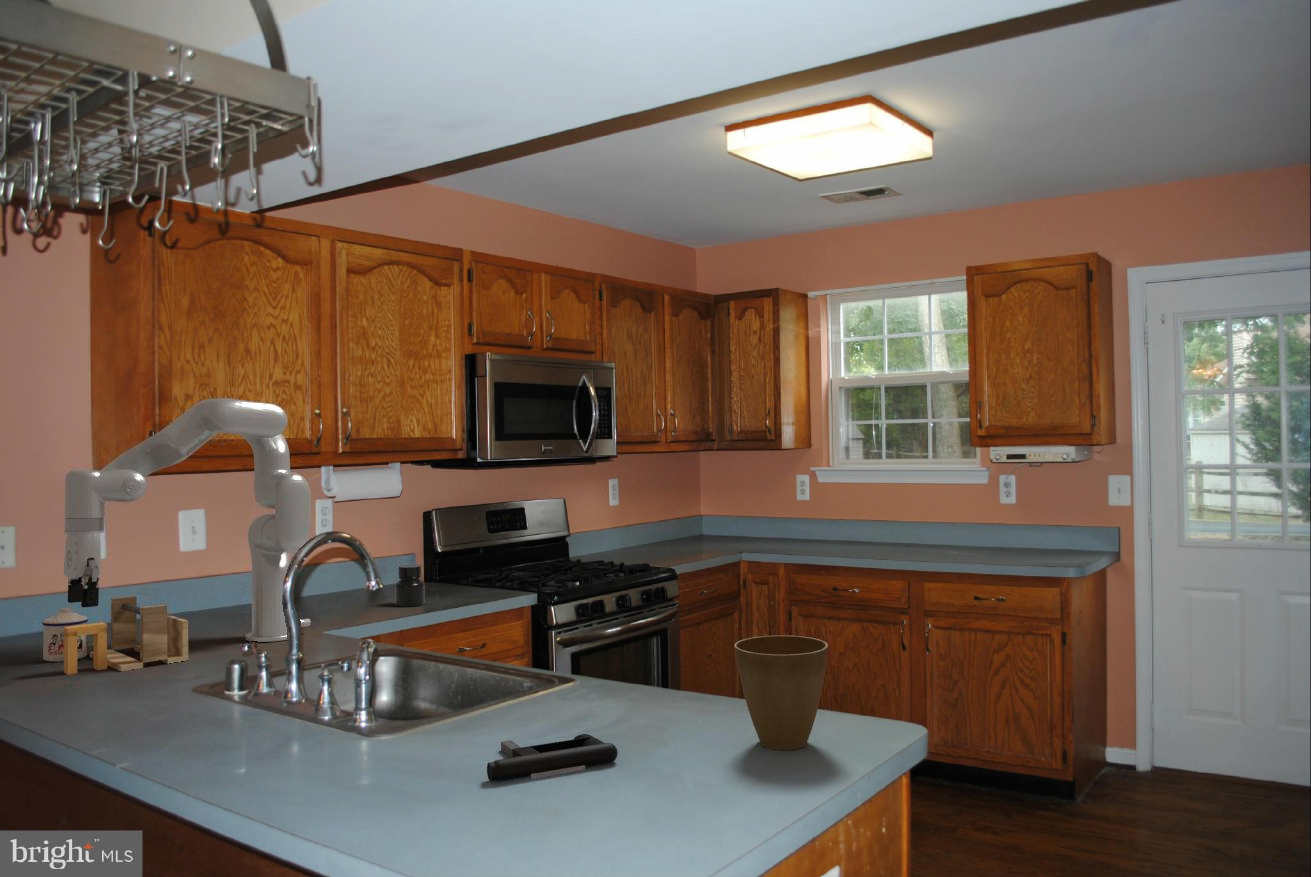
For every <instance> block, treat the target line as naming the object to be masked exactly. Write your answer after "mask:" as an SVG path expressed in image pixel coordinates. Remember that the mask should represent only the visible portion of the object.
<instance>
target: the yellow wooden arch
mask: <svg viewBox="0 0 1311 877" xmlns="http://www.w3.org/2000/svg"><path fill="white" fill-rule="evenodd" d="M107 633H108V624H107V623H106V622H103V621H101V622H96V623H95V622H94V623H87V624H85V625H77V626H69V627H64V661H63V673H64V674H66V675H67V676H69V675H75V674H78V659H77V636H80V635H87V636H88V635H93V641H94V645H93V651H94V659H93V669H95V670H97V671H101V670H107V669H108V665H107V649H108V634H107Z"/></svg>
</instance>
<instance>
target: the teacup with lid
mask: <svg viewBox="0 0 1311 877" xmlns="http://www.w3.org/2000/svg"><path fill="white" fill-rule="evenodd" d="M88 621H89V619H88V617H87V616H86V615H81V614H78V613H77V612H75V611H71V608H70V607H61V608H60V611H59V612H57V613H55V614H54V615H51V617H48V618H45V619H44V620H43V621H42V623H41V624H42V625H43V634H42V635H43V638H42V639H43V640H42V642H43V644H42V645H43V646H42V655H43V656H42V659H43V661H46V662H52V663H54V662H64V627H69V626H77V625H85V624H88V623H87V622H88ZM87 640H88V635H80V636H77V660H80V659H83V658H86V656H87V650H88V648H87V647H89V646H94V640H93V641H90V642H87Z"/></svg>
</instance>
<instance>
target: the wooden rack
mask: <svg viewBox="0 0 1311 877" xmlns="http://www.w3.org/2000/svg"><path fill="white" fill-rule="evenodd" d="M137 598H138V597H137V596H135V595H130V596H121V597H112V598H110V648H107V667H111V668H113V669H115V670H117V671H119V672H121V671H122V672H127V671H128V672H129V671H133V670H132V669H134V670H140V668H141V669H144V663H149V662H156V661H159V660H161V661H163V662H162V663H164V662H166V663H167V665H170V664H169V663H172V664H175V663H174V662H178V663H182V662H181V661H185V662H187V661H186V660H188V661H189V620H187V619H184V618H181V617H178V616H174V615H171V614H168V605H167V604H158V605H151V606H143V607H140V606H138V605H137V603H138V602H137ZM137 615H139V616H140V617H139V625H140V626H139V630H140V631H139V635H140V636H139V637H140V638H139V643H140V644H137V643H138V641H137V640H138V639H137V637H138V636H137V635H138V627H137V626H138V625H137V623H138V622H137V621H138V620H137V618H138V616H137ZM130 648H133V649H134V650H135V651H134V650H133V651H134V652H136V653H139V652H140V654H139V658H140V659H139V660H140V661H139V660H137V659H136V658H132V657H131V656H128V655H126V654H124V653H121V652H119V651H117V650H124V649H130ZM89 658H91V659H93V660H94V650H93V651H90V652H89ZM161 661H160V662H161ZM166 663H165V664H166Z"/></svg>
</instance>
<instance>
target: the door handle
mask: <svg viewBox="0 0 1311 877" xmlns="http://www.w3.org/2000/svg"><path fill="white" fill-rule="evenodd" d="M500 751H501V752H502V753H503V754H504V755H505V756H507V758H500V759H496V760H494V761H491V762H488V763H487V765H486V775H487V778H488V780H489V782H492V781H494V782H504V781H510V780H517V779H522V778H528V777H529V778H530V779H531V780H532V779H537V778H538V779H539V778H542V777H549V776H554V775H560V774H567V773H572V772H578V771H585V770H586V768H588V767H595V766H601V765H607V764H612V763H613V762H615V761H616V759H617V757H618V753H619V751H618V748H617V746H616V745H615V744H614V743H613V742H604V741H602V740H600V739H598V738H596V737H594V736H592V735H591V734H588V733H581V734H578V735H576V736H575V737H574V738H572V739H569V740H561V741H554V742H548V743H543V744H536V745H535V744H534V745H528V746H523V747H521V746H520V745H518V744H517V743H515V742H514V741H513V740H505V741H503V740H502V741H500Z"/></svg>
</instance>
